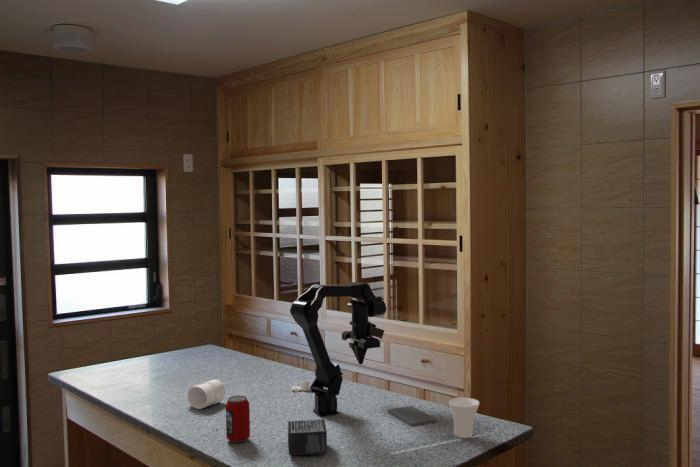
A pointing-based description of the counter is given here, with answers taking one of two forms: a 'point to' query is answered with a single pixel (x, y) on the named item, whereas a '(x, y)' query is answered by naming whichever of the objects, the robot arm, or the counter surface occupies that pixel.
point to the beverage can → (237, 419)
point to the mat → (411, 415)
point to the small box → (307, 437)
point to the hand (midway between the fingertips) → (360, 364)
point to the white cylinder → (206, 394)
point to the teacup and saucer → (303, 386)
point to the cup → (463, 416)
